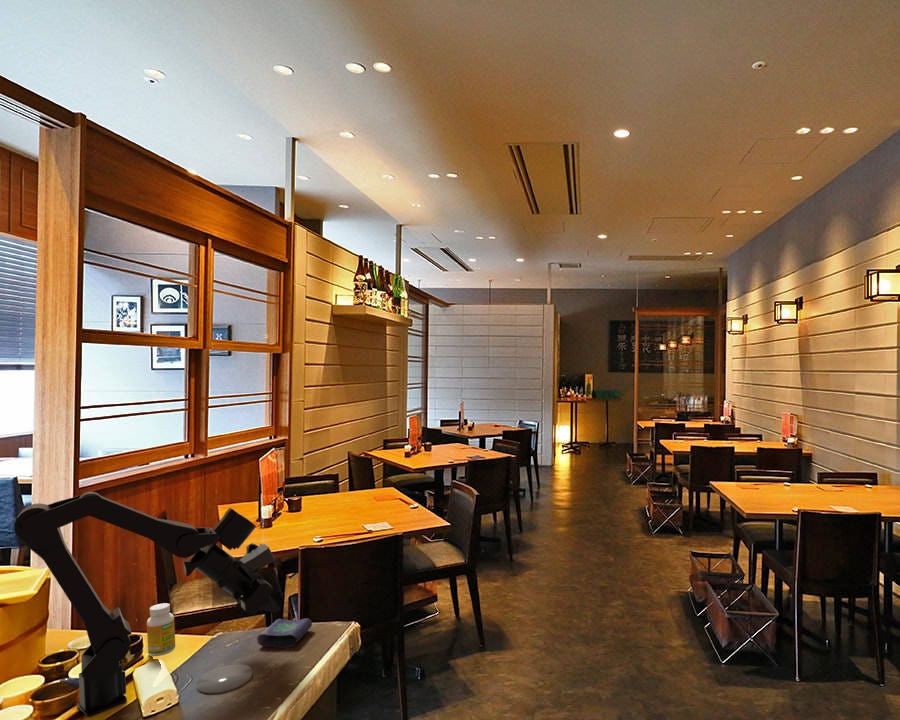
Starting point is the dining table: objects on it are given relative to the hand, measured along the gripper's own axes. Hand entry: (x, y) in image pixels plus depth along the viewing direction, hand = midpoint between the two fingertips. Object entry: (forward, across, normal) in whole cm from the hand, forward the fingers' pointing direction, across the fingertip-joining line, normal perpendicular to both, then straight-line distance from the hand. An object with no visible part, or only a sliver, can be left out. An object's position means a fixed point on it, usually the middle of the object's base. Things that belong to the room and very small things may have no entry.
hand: (277, 609), depth 125 cm
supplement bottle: (-8, +18, +21) cm, 29 cm away
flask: (+5, +1, +5) cm, 7 cm away
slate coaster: (-3, -6, +15) cm, 16 cm away
